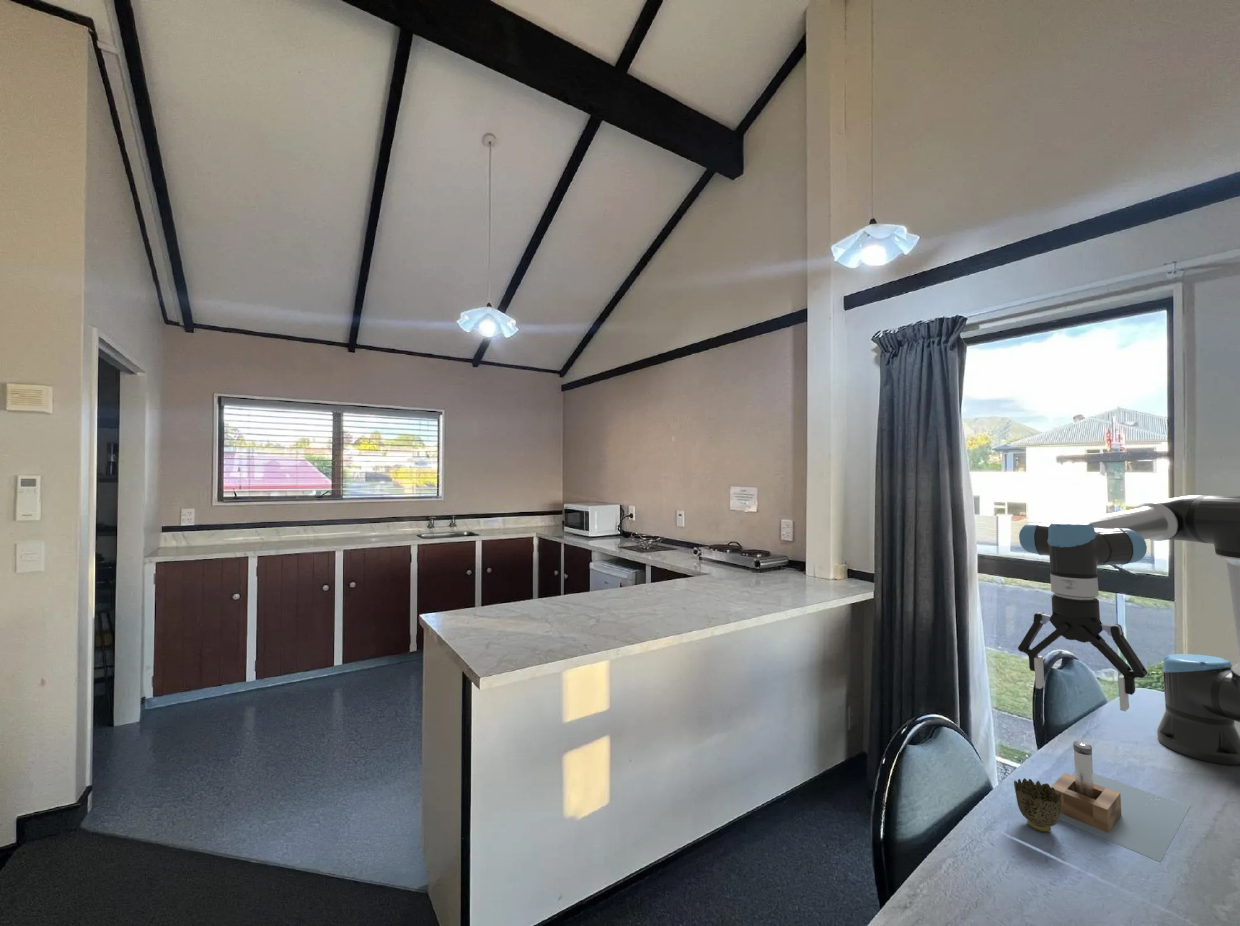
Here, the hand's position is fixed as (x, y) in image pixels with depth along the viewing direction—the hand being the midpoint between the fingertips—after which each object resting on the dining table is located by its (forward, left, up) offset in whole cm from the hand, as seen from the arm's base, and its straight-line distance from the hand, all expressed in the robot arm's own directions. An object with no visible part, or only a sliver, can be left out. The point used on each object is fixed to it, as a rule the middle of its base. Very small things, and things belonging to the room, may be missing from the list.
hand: (1080, 697), depth 107 cm
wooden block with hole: (0, 0, -24) cm, 24 cm away
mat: (-6, +3, -24) cm, 25 cm away
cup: (+13, -4, -24) cm, 28 cm away
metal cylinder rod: (0, 0, -24) cm, 24 cm away
